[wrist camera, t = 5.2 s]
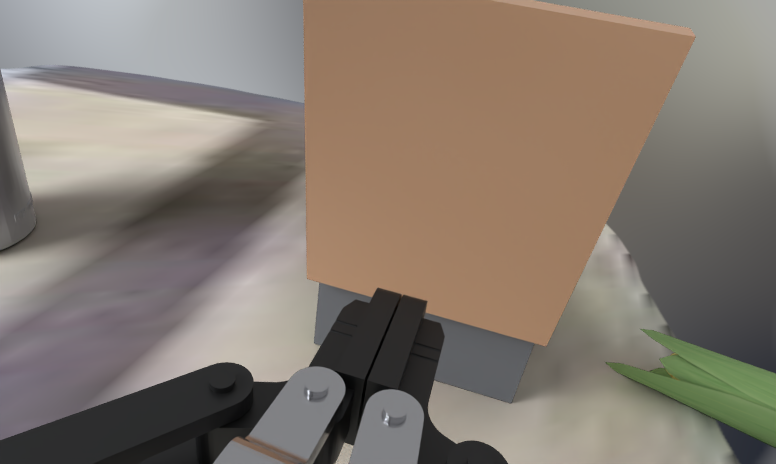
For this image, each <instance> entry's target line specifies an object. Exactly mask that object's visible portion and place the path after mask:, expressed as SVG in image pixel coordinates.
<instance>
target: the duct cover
mask: <svg viewBox="0 0 776 464" xmlns="http://www.w3.org/2000/svg"><path fill="white" fill-rule="evenodd" d="M303 8H304V9H303V10H304V81H305V82H304V86H305V164H306V240H307V279H309V280H313V281H316V282H320V283H324V284H327V285H331V286H334V287H338V288H341V289H345V290H348V291H352V292H355V293H359V294H362V295H366V296H369V297H373V295H374V293H375V291H376V289H377V288H382V289H385V290H389V291H393V292H396V293H400V294H402V296H403V295H408V296H411V297H415V298H418V299H422V300H426V301H428V302H427V307H426V313H429V314H433V315H436V316H440V317H443V318H447V319H450V320H454V321H457V322H461V323H465V324H468V325H472V326H475V327H479V328H482V329H486V330H489V331H493V332H496V333H500V334H503V335H507V336H510V337H514V338H517V339H521V340H524V341H528V342H532V343H535V344H539V345H542V346H547V344H548V342H549V340H550V338H551V336H552V334H553V332H554V330H555V328H556V325H557V323H558V321H559V319H560V317H561V315H562V313H563V311H564V309H565V307H566V305H567V303H568V301H569V299H570V296H571V294H572V292H573V290H574V288H575V286H576V284H577V282H578V280H579V278H580V276H581V274H582V272H583V270H584V267H585V265H586V263H587V261H588V259H589V257H590V255H591V253H592V251H593V249H594V247H595V245H596V243H597V240H598V238H599V236H600V234H601V232H602V230H603V228H604V226H605V224H606V222H607V220H608V218H609V215H610V214H611V211H612V209H613V207H614V205H615V203H616V201H617V199H618V197H619V195H620V193H621V190H622V189H623V186H624V184H625V182H626V180H627V178H628V176H629V174H630V172H631V170H632V168H633V166H634V164H635V162H636V159H637V158H638V155H639V153H640V151H641V149H642V147H643V145H644V143H645V141H646V139H647V137H648V135H649V133H650V131H651V129H652V126H653V124H654V122H655V120H656V118H657V116H658V114H659V112H660V110H661V108H662V106H663V104H664V102H665V100H666V97H667V95H668V93H669V91H670V89H671V87H672V85H673V83H674V81H675V79H676V77H677V75H678V73H679V71H680V68H681V66H682V64H683V62H684V60H685V58H686V56H687V54H688V52H689V50H690V48H691V46H692V43H693V42H694V39H695V35H694V33H693V32H692V30H691V29H690V28H686V27H681V26H675V25H670V24H664V23H658V22H653V21H647V20H641V19H636V18H630V17H624V16H618V15H613V14H607V13H601V12H596V11H590V10H585V9H579V8H573V7H567V6H562V5H556V4H551V3H545V2H539V1H534V0H303Z"/></svg>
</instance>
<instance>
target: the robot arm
mask: <svg viewBox="0 0 776 464" xmlns="http://www.w3.org/2000/svg"><path fill="white" fill-rule="evenodd" d="M32 202H33V200H32V196H31V192H30V191H29V187H28V182H27V178H26V174H25V169H24V165H23V161H22V157H21V153H20V149H19V145H18V140H17V136H16V132H15V128H14V124H13V120H12V116H11V112H10V107H9V103H8V99H7V95H6V91H5V87H4V83H3V78H2V74H1V70H0V250H2V249H5V248H7V247H9V246H11V245H13V244H15V243H17V242H18V241H20V240H22V239H23V238H25V237H26V236H27V235H28V234H29V233H30V232H31V231H32V230H33V228H34V227H35V224H36V216H35V212H34V207H33V203H32ZM427 302H428V301H426V300H422V299H418V298H415V297H411V296H408V295H403V296H402V294H400V293H396V292H393V291H389V290H385V289H382V288H377V289H376V291H375V293H374V295H373V297H372V299H371V301H370V303H367V302H364V301H360V300H356V299H355V300H354V301H352V302H351V303H349V304H348V305H346V306H345V307H343V308H342V310H341V312H340V314H339V315H338V317H337V319H336V322H334V324H333V326H332V327H331V329H330V332H329V333H328V334H327V336H326V338H325V340H324V341H323V343H322V345H321V346H320V348H319V350H318V352H317V353H316V355H315V357H314V358H313V360H312V362H311V364H310V365H309V367H308V368H304V369H301V370H299V371H298V372H296V373H295V374H294V375H293V376H292V377H291V378H290V379H289V380H288V381H284V382H253V377H252V374H251V373H250V372H249V370H248V369H246V368H245V367H243V366H242V365H239V364H235V363H228V362H226V363H217V364H214V365H211V366H208V367H205V368H202V369H199V370H197V371H194V372H191V373H188V374H185V375H182V376H180V377H177V378H174V379H171V380H168V381H166V382H163V383H160V384H157V385H154V386H152V387H149V388H146V389H143V390H140V391H138V392H135V393H132V394H129V395H126V396H124V397H121V398H118V399H115V400H112V401H110V402H107V403H104V404H101V405H98V406H96V407H93V408H90V409H87V410H84V411H82V412H79V413H76V414H73V415H70V416H68V417H65V418H62V419H59V420H56V421H54V422H51V423H48V424H45V425H42V426H40V427H37V428H34V429H31V430H28V431H26V432H23V433H20V434H17V435H14V436H11V437H9V438H6V439H3V440H0V464H335V463H336V460H337V458H338V456H339V454H340V451H341V449H342V447H343V444H344V443H347V444H350V445H354V447H353V451H352V454H351V457H350V461H349V464H508V463H507V461H506V460H505V458H504V457H503V456H502V455H501V454H500V453H499V452H498V451H497V450H496V449H494V448H493V447H491V446H490V445H488V444H485V443H483V442H479V441H464V442H461V443H458V444H456V443H454V442H453V441H451V440H450V439H448V438H447V437H445V436H444V435H443V434H441V433H440V432H439V431H438V430H437V429H436V428H435V426H434V425H433V423H432V422H431V420H430V417H429V414H428V402H429V398H430V394H431V390H432V386H433V382H434V378H435V374H436V370H437V366H438V362H439V358H440V354H441V350H442V346H443V342H444V338H445V335H444V332H443V329H442V326H441V323H439V322H435V321H432V320H428V319H424V316H425V312H426V307H427Z"/></svg>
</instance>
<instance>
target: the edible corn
mask: <svg viewBox="0 0 776 464" xmlns="http://www.w3.org/2000/svg"><path fill="white" fill-rule="evenodd" d="M641 330H642V331H643V332H645V333H646V334H647V335H648V336H650V337H651V338H652V339H654V340H655V341H657V342H658V343H660V344H662V345H663V346H665V347H666V348H668V349H670V350H671V351H673V352H674V353H673V354H671V355H670V356H668V357H664V358H660V361H661V363H662V364H663V366H664V367H665V368H658V369H654V370H651V371H650V372H648V371H645V370H641V369H638V368H635V367H631V366H628V365H625V364H622V363H609V362H605V363H606V364H607V365H609V366H610V367H611V368H612V369H613V370H615V371H616V372H618V373H620V374H622V375H624V376H626V377H628V378H631V379H633V380H635V381H637V382H639V383H641V384H644V385H646V386H648V387H650V388H652V389H655V390H657V391H659V392H661V393H663V394H665V395H667V396H669V397H671V398H673V399H675V400H677V401H679V402H681V403H683V404H685V405H687V406H689V407H691V408H693V409H696V410H698V411H700V412H702V413H704V414H706V415H708V416H710V417H712V418H714V419H716V420H718V421H720V422H722V423H724V424H726V425H729V426H731V427H733V428H735V429H737V430H739V431H741V432H743V433H745V434H747V435H749V436H751V437H753V438H755V439H757V440H759V441H761V442H763V443H765V444H767V445H770V446H772V447H774V448H776V374H775V373H772V372H769V371H766V370H764V369H761V368H758V367H755V366H752V365H749V364H747V363H744V362H740V361H738V360H735V359H732V358H729V357H726V356H724V355H721V354H718V353H715V352H712V351H710V350H707V349H704V348H701V347H698V346H696V345H693V344H690V343H687V342H684V341H682V340H679V339H676V338H673V337H670V336H668V335H665V334H662V333H659V332H656V331H654V330H645V329H641ZM651 372H652V373H651Z"/></svg>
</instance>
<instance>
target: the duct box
mask: <svg viewBox="0 0 776 464" xmlns="http://www.w3.org/2000/svg"><path fill="white" fill-rule="evenodd" d="M355 299H356V300H360V301H364V302H367V303H370V301H371V299H372V297H369V296H366V295H362V294H359V293H355V292H352V291H348V290H345V289H341V288H338V287H334V286H331V285H327V284H324V283H320V282H319V293H318V304H317V315H316V326H315V337H314V343H315V344H318V345H322V343H323V341H324V340H325V338H326V336H327V334H328V333H329V332H330V329H331V327H332V326H333V324H334V322H336V319H337V317H338V315H339V314H340V312H341V310H342V308H343V307H345V306H346V305H348V304H349V303H351V302H352V301H354V300H355ZM424 319H428V320H432V321H435V322H439V323H441V326H442V329H443V332H444V335H445V338H444V342H443V346H442V350H441V354H440V358H439V362H438V366H437V370H436V374H435V378H434V380H436V381H439V382H443V383H446V384H449V385H452V386H456V387H459V388H462V389H466V390H469V391H472V392H475V393H479V394H482V395H485V396H489V397H492V398H495V399H498V400H502V401H505V402H508V403H512V400H513V397H514V395H515V392H516V390H517V387H518V385H519V382H520V379H521V377H522V374H523V372H524V369H525V366H526V364H527V361H528V359H529V356H530V354H531V351H532V348H533V346H534V343H532V342H528V341H524V340H521V339H517V338H514V337H510V336H507V335H503V334H500V333H496V332H493V331H489V330H486V329H482V328H479V327H475V326H472V325H468V324H465V323H461V322H457V321H454V320H450V319H447V318H443V317H440V316H436V315H433V314H429V313H426V312H425V316H424Z"/></svg>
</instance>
